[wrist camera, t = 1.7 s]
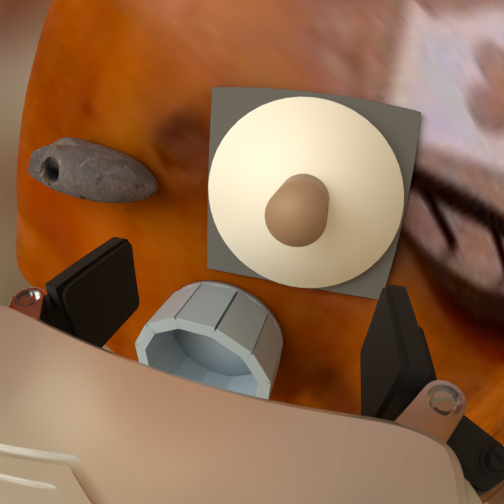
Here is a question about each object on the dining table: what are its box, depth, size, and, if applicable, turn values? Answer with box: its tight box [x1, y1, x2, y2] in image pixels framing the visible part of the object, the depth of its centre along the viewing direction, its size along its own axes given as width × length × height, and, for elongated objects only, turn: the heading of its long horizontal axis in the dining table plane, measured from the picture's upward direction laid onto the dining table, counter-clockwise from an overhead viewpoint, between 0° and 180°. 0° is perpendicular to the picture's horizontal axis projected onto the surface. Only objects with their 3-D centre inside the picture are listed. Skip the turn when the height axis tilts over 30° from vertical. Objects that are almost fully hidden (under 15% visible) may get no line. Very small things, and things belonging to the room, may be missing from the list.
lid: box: [208, 97, 404, 288], centre depth 22 cm, size 16×16×6 cm
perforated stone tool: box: [28, 137, 158, 203], centre depth 26 cm, size 15×5×7 cm, turn 72°
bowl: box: [135, 280, 284, 399], centre depth 31 cm, size 14×14×7 cm
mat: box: [207, 87, 421, 300], centre depth 25 cm, size 17×17×1 cm
